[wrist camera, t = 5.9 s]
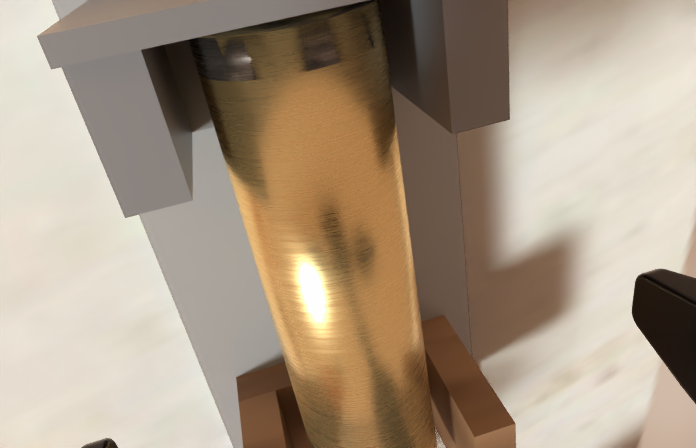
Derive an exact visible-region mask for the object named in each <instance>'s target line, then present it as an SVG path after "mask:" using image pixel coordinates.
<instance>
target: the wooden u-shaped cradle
mask: <svg viewBox="0 0 696 448" xmlns="http://www.w3.org/2000/svg"><path fill="white" fill-rule="evenodd" d="M421 325H422V333H423V341H424V349H425V356H426V364H427V372H428V380H429V388H430V396H431V404H432V412H433V420H434V424H435V426H436V428H437V430H438V432H439V434H440V436H441V438H442V441H443V443H444V445H445V447H446V448H516V431H515V422H514V421H513V419H512V418H511V416H510V415H509V413H508V412H507V410H506V409H505V407H504V406H503V404H502V402H501V401H500V399H499V398H498V396H497V395H496V393H495V392H494V390H493V389H492V387H491V386H490V384H489V383H488V381H487V380H486V378H485V377H484V375H483V374H482V372H481V370H480V369H479V367H478V366H477V364H476V363H475V361H474V360H473V358H472V357H471V355H470V354H469V352H468V351H467V349H466V348H465V346H464V345H463V343H462V341H461V340H460V338H459V337H458V335H457V334H456V332H455V331H454V329H453V328H452V326H451V325H450V323H449V322H448V320H447V319H446V317H445V316H444V315H441V316H438V317H435V318H432V319H428V320H425V321H422V322H421ZM236 382H237V392H238V401H239V411H240V421H241V431H242V441H243V448H311V447H310V443H309V440H308V437H307V433H306V430H305V427H304V423H303V420H302V417H301V414H300V410H299V407H298V404H297V400H296V397H295V394H294V390H293V387H292V384H291V380H290V377H289V374H288V370H287V367H286V364H285V363H282V364H279V365H276V366H272V367H269V368H266V369H262V370H259V371H256V372H252V373H249V374H246V375H243V376H239V377H236Z"/></svg>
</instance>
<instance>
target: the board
mask: <svg viewBox="0 0 696 448" xmlns="http://www.w3.org/2000/svg"><path fill="white" fill-rule="evenodd" d="M86 1H88V0H52V2H53V5H54V7H55V10H56V12H57V14H58V17H59V19H60V20H61V19H62V18H64V17H65V16H67V15H68V14H69V13H71V12H72V11H74V10H75V9H76V8H78V7H79V6H81V5H82V4H84V3H85V2H86ZM391 88H392V96H393V104H394V112H395V120H396V128H397V136H398V144H399V151H400V159H401V167H402V175H403V183H404V191H405V199H406V207H407V215H408V222H409V230H410V238H411V246H412V254H413V262H414V270H415V278H416V286H417V293H418V301H419V309H420V317H421V322H422V321H425V320H428V319H432V318H435V317H438V316H441V315H444V316H445V317H446V319H447V320H448V322H449V323H450V325H451V326H452V328H453V329H454V331H455V332H456V334H457V335H458V337H459V338H460V340H461V341H462V343H463V345H464V346H465V348H466V349H467V351H468V352H469V354H470V355H471V357H472V350H471V336H470V321H469V307H468V293H467V279H466V264H465V250H464V236H463V221H462V207H461V193H460V179H459V164H458V150H457V136H456V133H455V134H451V133H450V132H449V131H447V130H446V129H445V128H444V127H442V126H441V125H440V124H438V123H437V122H436V121H435V120H433V119H432V118H431V117H430V116H428V115H427V114H426V113H425V112H423V111H422V110H421V109H419V108H418V107H417V106H416V105H414V104H413V103H412V102H411V101H409V100H408V99H407V98H405V97H404V96H403V95H402V94H400V93H399V92H398V91H397V90H395V89H394V88H393V87H392V86H391ZM192 159H193V201H189V202H185V203H182V204H178V205H174V206H170V207H166V208H162V209H158V210H154V211H150V212H146V213H143V214H139V216H140V219H141V221H142V223H143V226H144V228H145V231H146V233H147V236H148V238H149V241H150V243H151V246H152V248H153V250H154V253H155V255H156V258H157V260H158V263H159V265H160V268H161V270H162V273H163V275H164V278H165V280H166V282H167V285H168V287H169V290H170V292H171V295H172V297H173V300H174V302H175V305H176V307H177V309H178V312H179V314H180V317H181V319H182V322H183V324H184V327H185V329H186V332H187V334H188V337H189V339H190V341H191V344H192V346H193V349H194V351H195V354H196V356H197V359H198V361H199V364H200V366H201V369H202V371H203V373H204V376H205V378H206V381H207V383H208V386H209V388H210V391H211V393H212V396H213V398H214V400H215V403H216V405H217V408H218V410H219V413H220V415H221V418H222V420H223V423H224V425H225V428H226V430H227V432H228V435H229V437H230V440H231V442H232V445H233V447H234V448H243V441H242V431H241V421H240V411H239V401H238V392H237V382H236V377H239V376H243V375H246V374H249V373H252V372H256V371H259V370H262V369H266V368H269V367H272V366H276V365H279V364H282V363H285V360H284V357H283V354H282V350H281V347H280V344H279V340H278V337H277V334H276V330H275V327H274V324H273V320H272V317H271V314H270V310H269V307H268V304H267V300H266V297H265V294H264V290H263V287H262V284H261V280H260V277H259V274H258V270H257V267H256V264H255V261H254V257H253V254H252V251H251V247H250V244H249V241H248V237H247V234H246V231H245V227H244V224H243V221H242V217H241V214H240V211H239V207H238V204H237V201H236V197H235V194H234V191H233V187H232V184H231V181H230V177H229V174H228V171H227V167H226V164H225V161H224V157H223V154H222V151H221V147H220V144H219V141H218V137H217V134H216V131H215V127H213V128H209V129H205V130H201V131H196V132H192Z"/></svg>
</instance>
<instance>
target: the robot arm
mask: <svg viewBox="0 0 696 448" xmlns="http://www.w3.org/2000/svg"><path fill="white" fill-rule="evenodd" d="M632 316H633V319H634V321H635V323H636V325H637V326H638V328H639V329H640V330H641V332H642V333H643V335H644V336H645V337H646V339H647V340H648V341H649V343H650V344H651V345H652V347H653V348H654V350H655V351H656V352H657V354H658V355H659V356H660V358H661V359H662V360H663V362H664V363H665V364H666V366H667V367H668V369H669V370H670V371H671V373H672V374H673V375H674V377H675V378H676V380H677V381H678V382H679V384H680V385H681V386H682V388H683V389H684V390H685V391H686V393H687V394H688V395H689V396H690V398H691V399H692V400H693V401H694V402H695V404H696V278H693V277H689V276H686V275H683V274H679V273H676V272H673V271H669V270H666V269H655V270H652V271H649V272H646V273H642V274H640V275H639V276H638V277H637V279H636V281H635V288H634V296H633V305H632ZM82 448H118V447H117V445H116V443H115V442H114V441H113V440H112V439H110V438H106V439H102V440H99V441H96V442H93V443H89V444H86V445H84V446H83V447H82Z"/></svg>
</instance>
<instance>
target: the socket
mask: <svg viewBox="0 0 696 448" xmlns="http://www.w3.org/2000/svg"><path fill="white" fill-rule="evenodd" d="M363 1H368V0H88V1H86V2H85V3H84V4H82V5H81V6H79V7H78V8H76V9H75V10H74V11H72V12H71V13H69V14H68V15H67V16H65V17H64V18H62V19H61V20H59V21H58V22H57V23H55V24H54V25H52V26H51V27H50V28H48V29H47V30H45V31H44V32H42V33H41V34H40V35H38V36H37V37H38V40H39V42H40V44H41V47H42V49H43V51H44V54H45V56H46V58H47V61H48V63H49V65H50V67H51V69H55V68H59V67H62V69H63V72H64V74H65V76H66V79H67V81H68V84H69V86H70V88H71V91H72V93H73V95H74V98H75V100H76V103H77V105H78V107H79V110H80V112H81V114H82V117H83V119H84V121H85V124H86V126H87V129H88V131H89V133H90V136H91V138H92V140H93V143H94V145H95V147H96V150H97V152H98V155H99V157H100V159H101V162H102V164H103V166H104V169H105V171H106V174H107V176H108V178H109V181H110V183H111V185H112V188H113V190H114V192H115V195H116V197H117V200H118V202H119V204H120V207H121V209H122V211H123V214H124V216H125V218H127V217H131V216H135V215H139V214H143V213H146V212H150V211H154V210H158V209H162V208H166V207H170V206H174V205H178V204H182V203H185V202H189V201H193V159H192V132H196V131H201V130H205V129H209V128H213V127H214V124H213V121H212V117H211V114H210V111H209V108H208V104H207V101H206V98H205V94H204V91H203V88H202V84H201V81H200V78H199V74H198V71H197V68H196V64H195V61H194V58H193V54H192V51H191V48H190V44H189V41H188V39H193V38H197V37H202V36H207V35H211V34H216V33H220V32H225V31H230V30H234V29H239V28H243V27H248V26H253V25H257V24H262V23H266V22H271V21H276V20H280V19H285V18H289V17H294V16H299V15H303V14H308V13H312V12H317V11H322V10H326V9H331V8H335V7H340V6H345V5H349V4H354V3H358V2H363ZM380 2H381V10H382V17H383V25H384V33H385V41H386V49H387V57H388V65H389V73H390V81H391V86H392V87H393V88H394V89H395V90H397V91H398V92H399V93H400V94H402V95H403V96H404V97H405V98H407V99H408V100H409V101H411V102H412V103H413V104H414V105H416V106H417V107H418V108H419V109H421V110H422V111H423V112H425V113H426V114H427V115H428V116H430V117H431V118H432V119H433V120H435V121H436V122H437V123H438V124H440V125H441V126H442V127H444V128H445V129H446V130H447V131H449V132H450V133H451V134H455V133H459V132H463V131H467V130H471V129H474V128H478V127H482V126H486V125H490V124H494V123H498V122H502V121H506V120H510V106H509V52H508V0H380Z"/></svg>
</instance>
